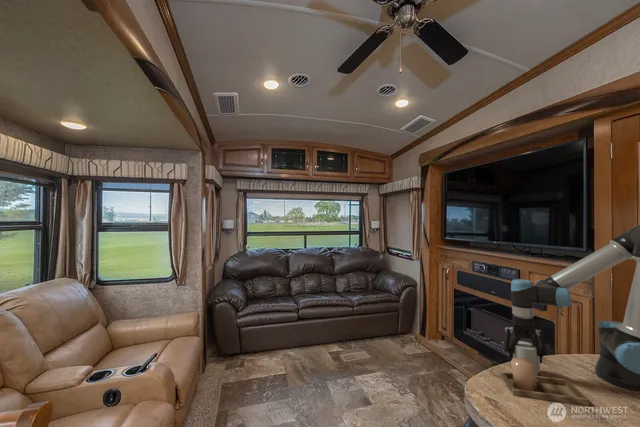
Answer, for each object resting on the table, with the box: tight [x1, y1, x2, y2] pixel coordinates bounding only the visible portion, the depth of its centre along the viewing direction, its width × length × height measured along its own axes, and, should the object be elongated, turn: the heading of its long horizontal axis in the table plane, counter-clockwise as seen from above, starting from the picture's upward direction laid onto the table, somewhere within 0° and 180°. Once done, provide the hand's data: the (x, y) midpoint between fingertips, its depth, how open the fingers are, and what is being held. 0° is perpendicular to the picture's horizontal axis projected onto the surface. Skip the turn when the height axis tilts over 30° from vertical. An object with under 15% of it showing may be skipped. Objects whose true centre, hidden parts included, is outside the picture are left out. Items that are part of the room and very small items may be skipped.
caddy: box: [500, 371, 590, 407], centre depth 104 cm, size 23×13×2 cm, turn 74°
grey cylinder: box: [514, 340, 539, 376], centre depth 116 cm, size 8×8×12 cm
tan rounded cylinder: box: [511, 357, 536, 392], centre depth 105 cm, size 7×7×10 cm
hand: (525, 368), depth 116 cm, fingers closed on grey cylinder, 8 cm apart
